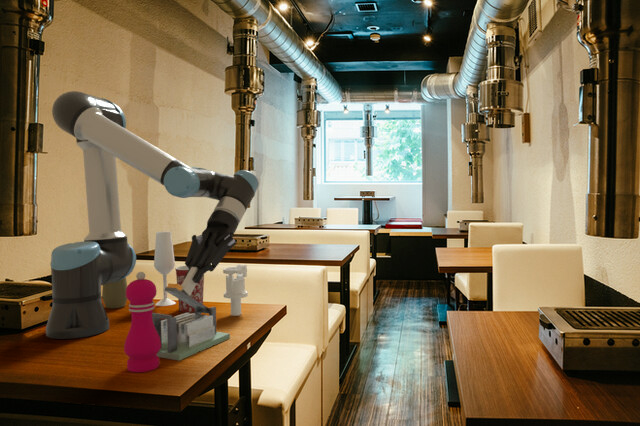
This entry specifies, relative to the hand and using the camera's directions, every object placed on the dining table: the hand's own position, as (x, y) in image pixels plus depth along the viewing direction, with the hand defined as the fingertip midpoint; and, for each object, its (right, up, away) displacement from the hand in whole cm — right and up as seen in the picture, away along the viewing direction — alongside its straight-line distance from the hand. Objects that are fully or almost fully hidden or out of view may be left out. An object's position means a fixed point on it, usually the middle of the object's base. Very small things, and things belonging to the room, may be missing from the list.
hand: (184, 292), depth 114 cm
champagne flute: (-20, -12, +48) cm, 54 cm away
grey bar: (0, -3, +2) cm, 3 cm away
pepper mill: (-5, -14, -13) cm, 19 cm away
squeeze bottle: (-35, -12, +45) cm, 58 cm away
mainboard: (0, -13, +2) cm, 13 cm away
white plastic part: (+7, -12, +32) cm, 35 cm away
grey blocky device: (0, -12, +1) cm, 12 cm away
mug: (-9, -12, +41) cm, 43 cm away
